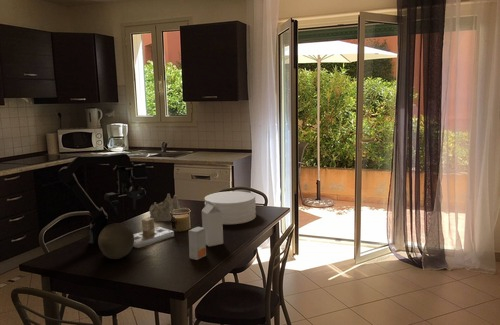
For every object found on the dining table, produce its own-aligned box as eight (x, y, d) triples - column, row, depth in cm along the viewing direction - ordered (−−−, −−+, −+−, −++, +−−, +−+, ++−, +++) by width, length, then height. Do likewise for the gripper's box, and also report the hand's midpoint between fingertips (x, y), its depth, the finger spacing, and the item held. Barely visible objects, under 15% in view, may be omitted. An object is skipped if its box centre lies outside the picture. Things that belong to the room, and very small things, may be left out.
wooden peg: (147, 241, 183) (146, 220, 182) (143, 239, 186) (141, 219, 184) (155, 239, 186) (153, 218, 185) (150, 237, 189) (148, 217, 187)
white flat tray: (137, 248, 175) (137, 242, 174) (123, 242, 183) (122, 237, 182) (174, 236, 189) (173, 231, 189) (159, 231, 197) (159, 226, 197)
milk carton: (208, 247, 174) (206, 205, 171) (202, 242, 180) (201, 201, 177) (223, 244, 177) (221, 202, 174) (217, 239, 183) (215, 199, 181)
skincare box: (197, 260, 159) (196, 232, 158) (189, 258, 162) (187, 230, 160) (206, 255, 164) (205, 227, 163) (198, 253, 167) (197, 226, 165)
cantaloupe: (97, 257, 166) (94, 222, 164) (131, 250, 173) (128, 217, 171) (102, 268, 154) (99, 231, 152) (139, 260, 161) (136, 225, 158)
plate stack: (227, 207, 239) (226, 189, 237) (265, 214, 223) (265, 194, 221) (195, 219, 217) (193, 199, 215) (235, 227, 200) (234, 205, 199)
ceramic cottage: (186, 214, 226) (183, 189, 224) (167, 223, 212) (163, 196, 210) (166, 213, 234) (162, 188, 231) (146, 221, 220) (142, 195, 217)
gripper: (114, 184, 173) (116, 219, 175) (151, 178, 186) (152, 210, 189) (102, 181, 180) (104, 214, 183) (138, 176, 194) (140, 206, 196)
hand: (126, 211), depth 187 cm, fingers open, 9 cm apart
